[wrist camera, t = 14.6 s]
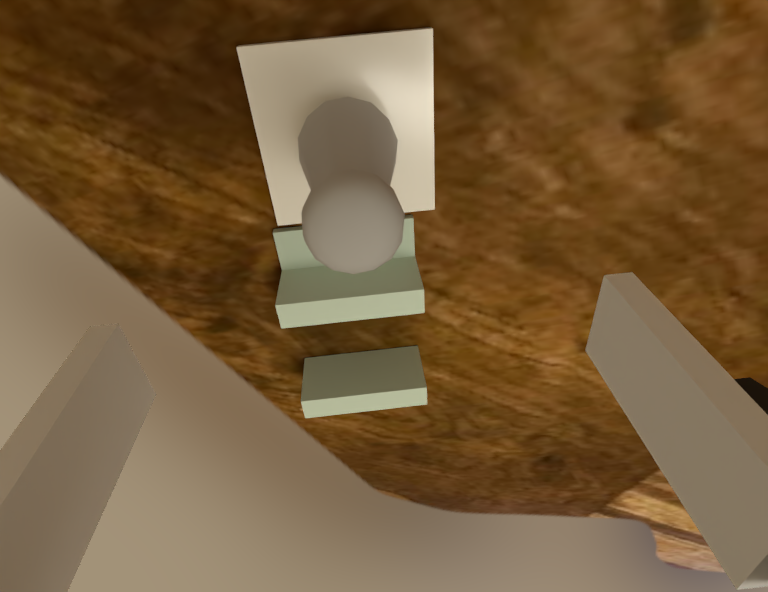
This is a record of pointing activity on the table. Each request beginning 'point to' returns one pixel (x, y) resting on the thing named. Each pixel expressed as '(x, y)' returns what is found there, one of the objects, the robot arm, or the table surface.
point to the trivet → (336, 80)
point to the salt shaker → (350, 186)
